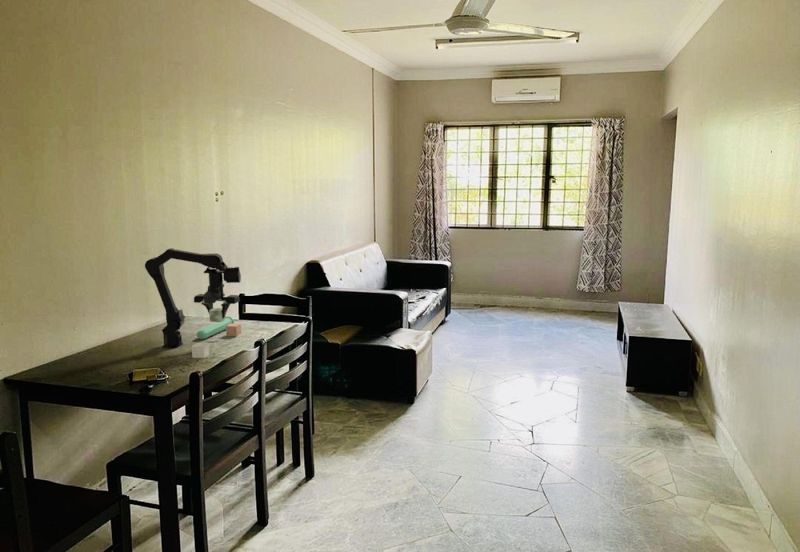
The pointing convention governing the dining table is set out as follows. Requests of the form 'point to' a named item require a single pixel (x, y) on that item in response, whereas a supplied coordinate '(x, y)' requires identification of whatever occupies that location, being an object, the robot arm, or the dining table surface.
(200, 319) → the dining table surface
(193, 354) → the off white block
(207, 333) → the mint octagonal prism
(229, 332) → the terracotta block
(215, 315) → the sage block
